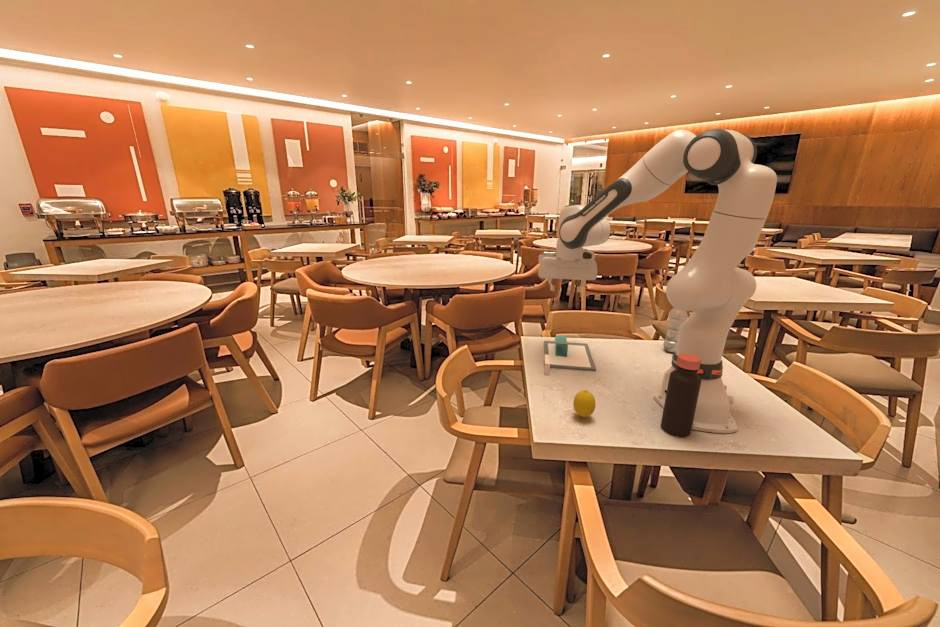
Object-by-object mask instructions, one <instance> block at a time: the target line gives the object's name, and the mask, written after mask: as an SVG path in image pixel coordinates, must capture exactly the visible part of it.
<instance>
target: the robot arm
mask: <svg viewBox="0 0 940 627" xmlns="http://www.w3.org/2000/svg"><path fill="white" fill-rule="evenodd" d="M757 151H758V150H757V146H756V143H755V141H754V140H753V138H751V137H750V136H748V135H747V134H744V133H740V132H739V131H736V130H733V129H723V128H721V129H720V128H713V129H712V128H711V129H708V130H705V131H703V132H701V133H699V134H698V135H696V134H695V133H694V132H692V131H690V130H689V129H688V130H687V129H676V130H675V131H672V132H671V133H669V134H668V135H667V136H665V137H664V138H663V139H661V140H659V141H658V142H657V143H656V144H655V145H654V146H653V147H652V148H650V149H649V150H648V151H647V152H646V153H645V154H643V156H642V157H641V158H640V159H638V161H637V162H636V163H635V164H633V166H632V167H630V168H629V169H628V170H627V171H626V172H625V173H623V174H622V176H620V177H619V178H617V179H615V181H613V183H610V185H608V186H607V187H606V188H605V189H604V190H602V191H601V192H600V193H599V194H598V195H596V197H594V198H593V199H592V200H591V201H590V202H589V203H587V204H586V205H584V204H580V203H579V204H576V203H575V204H568V205H564V206H563V207H562V208H561V209H560V213H559V216H558V220H557V221H558V223H557V235H558V236H557V238H558V239H557V241H556V248H555V251H543V252H542V253H540V254H539V255H538V259H537V262H538V264H539V268H538V273H537V274H538V278H540V279H547V282H548V284H549V286H550V288H549V289H550V290H549V291H552V292H555V289H556V288H555V287H556V286H555V285H554V284H552V281H553V279H554V280H555V279H556V280H574V281H575V280H580V282H581V284H580V285H579V286H577V287H576V292H577V293H582V291H583V287H584V286H585V284H587V282H586V281H595V280H596V279H597V278H598V264H597V261H596V260H595V258H596V253H595V252H594V251H592V250H589V249H586V248H584V247H592V246H600V245H601V244H604V243H606V242H607V241H608V240H609V238H610V236H611V232H612V228H611V223H610V221H609V219H607V217H608V216H609V215H610V214H611V213H613V212H615V211H616V210H618V209H620V208H622V207H626V206H629V205H632V204H638V203H642V202H648V201H651V200H652V199H654V198H656V197H658V196H660V195H661V194H663V193H664V192H665V191H666V190H668V189H669V188H670V187H671V186H672V185H674V183H676V182H677V181H678V180H679V179H681V178H682V177H683V176H684V175H685V174H688V173H689V174H690V175H692V176H693V177H696V178H697V179H698V180H702V181H704V182H705V183H708V184H709V185H711V186H717V187H718V194H717V199H716V201H715V203H714V208H713V209H712V212H711V215H710V219H709V221H708V224H707V227H706V230H705V231H704V235H703V237H702V239H701V241H700V242H699V244H698V247H697V248H696V250H695V251H694V253H693V254H692V256H691V257H690V259H689V260H688V261H687V263H686V264H685V265H684V266H683V267H682V268H681V269H680V270H679V271H678V272H677V273H676V274H674V275H673V276H672V277H670V279H669V280H668V281H667V284H666V289H665V294H666V298H667V301H668V302H669V304H670V305H671V306H672V307H673V308H674V307H675V308H677V309H679V310H685V311H686V312H691V313H690V315H689V316H688V317H687V320H686V321H684V322H683V324H682V325H681V327H680V329H679V334H678V340H677V345H676V351H674V353H672V356H671V366H670V367H669V368H668V370H665V372H664V373H663V377H662V380H661V384H660V390H659V392H657V393H654V395H653V399H654V400H655V402H656V403H658V404H659V406H661V407H662V409H664V404H665V398H666V393H667V387H668V382H669V376H670V373H671V372H672V371H674V370H675V369H677V366H676V362H677V357H678V355H679V354H691V355H695V356H697V357H699V358H700V359H701V363H700V368H699V371H697V374H698V375H699V376H700V378H701V380H702V381H701V386H700V391H699V396H698V400H697V405H696V410H695V415H694V420H693V424H692V429H691V430H695V431H699V432H706V433H716V434H731V433H736V432H738V430H739V429H738V428H739V427H738V425H737V423H736V421H735V418H734V416H733V415H732V413H731V405H733V404H734V397H733V396H732V395H728V394H727V385H725V384H724V381H723V379H722V376H723V372H724V371H723V369H724V366H723V359H722V358H723V354H724V349H725V347H726V346H725V345H726V341H727V337H728V335H729V332H730V329H731V328H732V326H733V324H734V322H735V320H736V318H737V316H738V315H739V313H740V311H741V309H742V308H743V307H744V305H745V304H746V303H747V301H749V300H750V299H751V298H753V296H754V294H755V292H756V290H757V281H756V279H755V277H754V275H753V274H752V273H751V272H750V271H748V270H747V269H745V268H741V267H738V266H739V265H740V264H741V262H742V261H743V260H744V259H745V258H747V257H748V256H749V255H750V254H751V253H752V252H753V251H754V250H755V249H756V245H757V243H758V240H759V238H760V236H761V233H762V231H763V228H764V226H765V223H766V220H767V219H768V216H769V213H770V212H771V211H770V210H771V207H772V204H773V201H774V197H775V193H776V187H777V183H778V176H777V174H776V172H775V170H773V169H772V168H771V167H770V166H769V167H768V166H766V165H762V164H758V163H757V164H756V163H754V162H755V160H756V158H757V154H758V153H757Z"/></svg>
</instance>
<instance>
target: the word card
mask: <svg viewBox="0 0 940 627" xmlns="http://www.w3.org/2000/svg"><path fill="white" fill-rule="evenodd" d="M543 357H544V356H543ZM543 359H544V360H543V375H544V376H550V371H551V370H550V369H551V368H550V356H549V355H548V354H545V357H544V358H543Z"/></svg>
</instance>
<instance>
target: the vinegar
mask: <svg viewBox="0 0 940 627" xmlns="http://www.w3.org/2000/svg"><path fill="white" fill-rule="evenodd" d="M700 363H701V359H700V358H699V357H697V356H695V355H691V354H679V355H678V357H677V362H676V366H677V369H675V370H674V371H672V372H671V373H670V376H669V382H668V387H667V393H666V398H665V404H664V408H662V409H663V410H662V416H661V421H660V428H661V429H662V430H663V432H664V433H666V434H668V435H670V436H672V435H673V437H676V436H678V437H677V438H687V436H688V437H689V436H690V435H691V433H692V430H693V429H692V424H693V420H694V415H695V410H696V405H697V400H698V396H699V391H700V386H701V381H702V380H701V378H700V376H699V375H698V374H697V371H699V368H700Z"/></svg>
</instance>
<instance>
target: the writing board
mask: <svg viewBox="0 0 940 627" xmlns="http://www.w3.org/2000/svg"><path fill="white" fill-rule="evenodd" d="M567 344H568V351H567V357H562V356H556V355H555V340H553V341H551V340H543V348H544V349H543V351H544V352H543V353H544V354H543V355H544V356H543V357H545V354H548V355H549V356H550V369H562V370H573V371H574V370H575V371H588V372H597V367H596V365H595V362H594V359H593V356H592V353H591V350H590V347H589V344H588V343H583V342H582V343H581V342H569V341H567Z"/></svg>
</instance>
